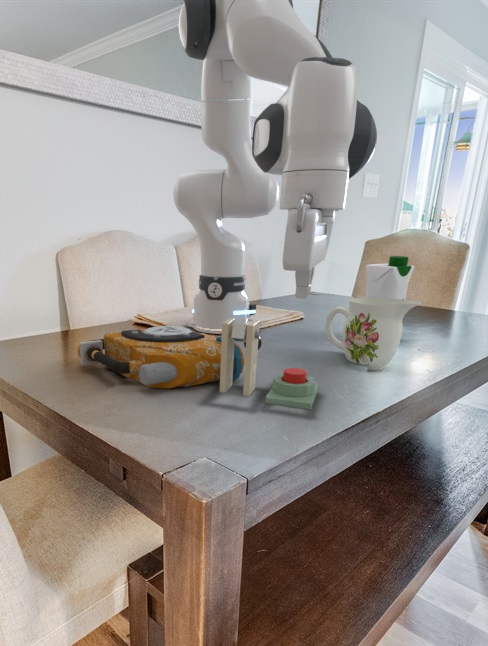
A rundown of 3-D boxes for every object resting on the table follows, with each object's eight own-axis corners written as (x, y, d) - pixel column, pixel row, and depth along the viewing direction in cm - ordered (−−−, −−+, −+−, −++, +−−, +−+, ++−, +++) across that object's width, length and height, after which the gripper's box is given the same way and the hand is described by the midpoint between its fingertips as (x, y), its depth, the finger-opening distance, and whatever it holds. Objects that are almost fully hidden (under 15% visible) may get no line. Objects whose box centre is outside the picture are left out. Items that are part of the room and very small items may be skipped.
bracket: (223, 384, 83) (225, 314, 79) (266, 390, 81) (272, 317, 76) (205, 403, 75) (207, 325, 70) (253, 411, 72) (258, 330, 67)
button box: (276, 389, 81) (278, 368, 79) (317, 395, 79) (320, 373, 77) (264, 410, 72) (266, 386, 71) (309, 417, 70) (312, 392, 68)
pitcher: (334, 351, 105) (342, 289, 100) (416, 368, 93) (430, 299, 88) (309, 361, 97) (316, 295, 92) (395, 380, 86) (409, 306, 81)
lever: (244, 352, 85) (247, 335, 85) (261, 354, 84) (264, 336, 84) (227, 340, 73) (230, 320, 73) (247, 342, 72) (250, 321, 72)
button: (284, 376, 76) (285, 366, 76) (307, 379, 75) (308, 369, 74) (280, 383, 73) (281, 372, 72) (303, 386, 72) (305, 375, 71)
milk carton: (380, 345, 110) (394, 258, 103) (351, 336, 118) (363, 255, 110) (404, 340, 114) (420, 256, 107) (375, 333, 122) (388, 254, 114)
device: (133, 358, 68) (67, 326, 92) (135, 410, 71) (71, 366, 95) (251, 340, 79) (165, 316, 103) (249, 385, 82) (166, 352, 106)
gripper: (329, 192, 54) (316, 310, 59) (341, 199, 72) (330, 289, 77) (275, 192, 56) (267, 306, 61) (300, 199, 74) (292, 287, 79)
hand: (302, 297), depth 69 cm, fingers closed
